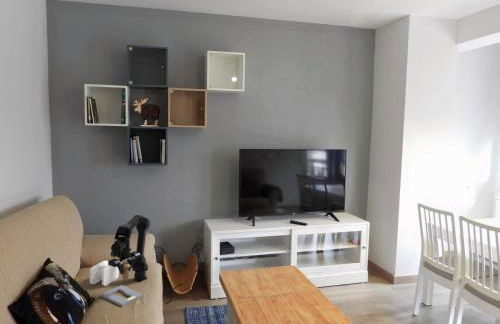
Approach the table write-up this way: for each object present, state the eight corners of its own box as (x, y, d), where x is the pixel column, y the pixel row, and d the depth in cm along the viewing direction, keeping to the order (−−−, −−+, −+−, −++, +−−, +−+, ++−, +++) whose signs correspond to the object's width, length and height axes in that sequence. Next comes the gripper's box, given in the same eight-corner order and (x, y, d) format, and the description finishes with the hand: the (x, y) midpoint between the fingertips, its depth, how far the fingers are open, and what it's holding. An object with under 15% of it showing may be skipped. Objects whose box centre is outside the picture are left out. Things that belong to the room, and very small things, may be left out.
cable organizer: (103, 288, 211) (102, 270, 210) (89, 285, 214) (88, 267, 213) (119, 278, 226) (118, 261, 224) (105, 275, 229) (105, 259, 227)
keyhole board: (101, 296, 202) (101, 293, 202) (121, 287, 213) (121, 284, 213) (122, 306, 191) (122, 304, 190) (143, 296, 202) (143, 294, 202)
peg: (126, 274, 207) (125, 262, 207) (132, 276, 205) (132, 264, 204) (118, 277, 203) (118, 265, 202) (124, 279, 200) (124, 267, 199)
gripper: (128, 240, 214) (129, 264, 216) (101, 249, 198) (102, 275, 200) (140, 243, 208) (141, 268, 210) (114, 253, 192) (115, 279, 194)
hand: (125, 272), depth 204 cm, fingers closed on peg, 5 cm apart
